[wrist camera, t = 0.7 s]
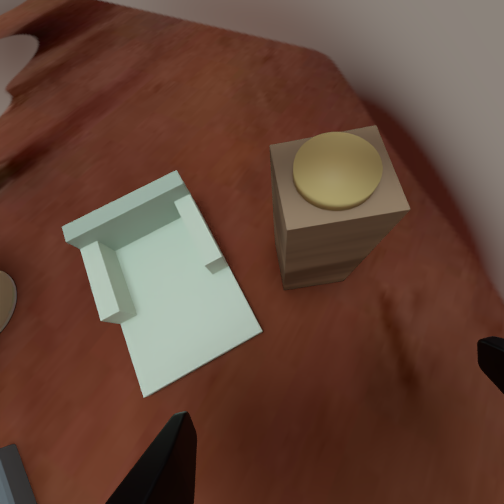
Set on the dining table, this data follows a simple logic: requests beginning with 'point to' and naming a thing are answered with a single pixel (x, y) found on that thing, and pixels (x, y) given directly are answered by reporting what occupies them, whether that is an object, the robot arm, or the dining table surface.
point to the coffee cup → (6, 298)
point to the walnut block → (332, 204)
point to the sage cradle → (162, 281)
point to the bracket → (14, 478)
